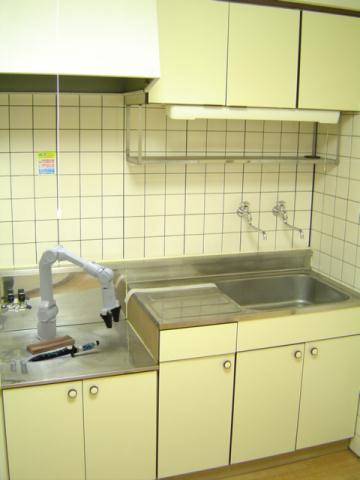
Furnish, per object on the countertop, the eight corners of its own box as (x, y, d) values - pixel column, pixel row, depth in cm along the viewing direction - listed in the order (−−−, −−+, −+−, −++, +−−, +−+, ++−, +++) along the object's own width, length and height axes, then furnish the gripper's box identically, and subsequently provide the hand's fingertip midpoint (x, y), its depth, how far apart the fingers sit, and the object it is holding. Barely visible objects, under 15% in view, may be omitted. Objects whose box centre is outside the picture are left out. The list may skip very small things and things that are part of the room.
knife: (99, 348, 237) (98, 339, 236) (101, 351, 234) (100, 341, 233) (28, 364, 227) (27, 354, 226) (29, 367, 224) (27, 357, 223)
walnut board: (26, 349, 236) (26, 344, 236) (67, 338, 249) (67, 334, 248) (33, 354, 231) (33, 350, 231) (75, 343, 244) (75, 339, 243)
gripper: (110, 300, 229) (114, 331, 232) (123, 290, 243) (127, 319, 245) (95, 301, 231) (99, 331, 234) (109, 291, 245) (113, 319, 247)
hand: (113, 325), depth 240 cm, fingers open, 7 cm apart
